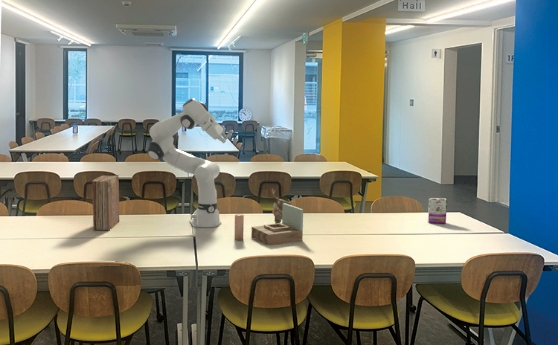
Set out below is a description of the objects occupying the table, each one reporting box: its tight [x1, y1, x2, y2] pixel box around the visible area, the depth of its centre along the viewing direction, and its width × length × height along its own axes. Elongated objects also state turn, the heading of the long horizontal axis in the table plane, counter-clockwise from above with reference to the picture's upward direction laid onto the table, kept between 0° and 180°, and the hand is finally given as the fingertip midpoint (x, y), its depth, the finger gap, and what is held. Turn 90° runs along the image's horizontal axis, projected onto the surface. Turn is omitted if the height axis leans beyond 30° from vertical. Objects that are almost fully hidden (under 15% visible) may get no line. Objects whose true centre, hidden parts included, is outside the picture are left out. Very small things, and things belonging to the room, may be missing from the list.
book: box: [91, 174, 120, 232], centre depth 333 cm, size 25×9×30 cm, turn 3°
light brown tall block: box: [234, 214, 245, 242], centre depth 309 cm, size 5×5×14 cm
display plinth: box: [250, 203, 304, 246], centre depth 312 cm, size 20×22×18 cm
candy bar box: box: [427, 197, 448, 225], centre depth 362 cm, size 11×5×16 cm, turn 81°
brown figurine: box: [271, 187, 292, 224], centre depth 337 cm, size 11×13×25 cm
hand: (225, 140), depth 303 cm, fingers open, 8 cm apart
